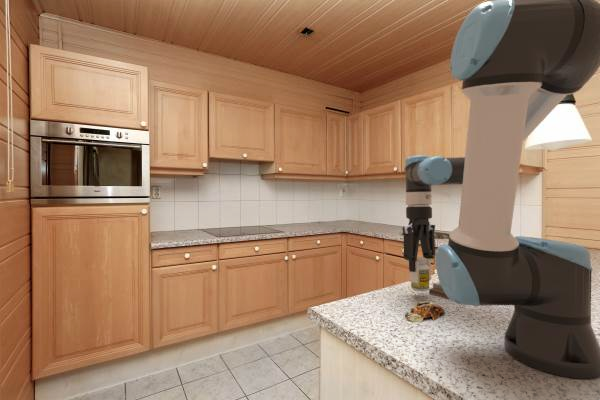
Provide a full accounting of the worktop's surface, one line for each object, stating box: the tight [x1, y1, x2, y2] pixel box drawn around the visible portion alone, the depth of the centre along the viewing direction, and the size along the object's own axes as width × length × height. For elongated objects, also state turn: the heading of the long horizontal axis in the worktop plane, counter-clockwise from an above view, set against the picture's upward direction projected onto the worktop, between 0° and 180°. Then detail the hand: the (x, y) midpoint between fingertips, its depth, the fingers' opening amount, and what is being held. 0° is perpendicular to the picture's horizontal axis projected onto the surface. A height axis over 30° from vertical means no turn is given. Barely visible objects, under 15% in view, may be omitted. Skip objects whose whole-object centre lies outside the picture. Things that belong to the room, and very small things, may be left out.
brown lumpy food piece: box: [404, 300, 446, 323], centre depth 81 cm, size 7×12×4 cm, turn 129°
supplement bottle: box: [410, 256, 430, 292], centre depth 95 cm, size 5×5×10 cm
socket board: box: [428, 280, 451, 301], centre depth 98 cm, size 12×9×3 cm
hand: (420, 280), depth 95 cm, fingers closed on supplement bottle, 5 cm apart
